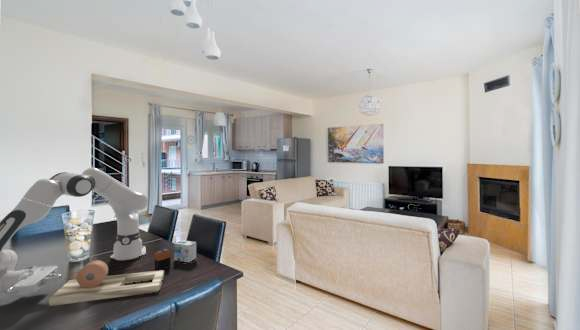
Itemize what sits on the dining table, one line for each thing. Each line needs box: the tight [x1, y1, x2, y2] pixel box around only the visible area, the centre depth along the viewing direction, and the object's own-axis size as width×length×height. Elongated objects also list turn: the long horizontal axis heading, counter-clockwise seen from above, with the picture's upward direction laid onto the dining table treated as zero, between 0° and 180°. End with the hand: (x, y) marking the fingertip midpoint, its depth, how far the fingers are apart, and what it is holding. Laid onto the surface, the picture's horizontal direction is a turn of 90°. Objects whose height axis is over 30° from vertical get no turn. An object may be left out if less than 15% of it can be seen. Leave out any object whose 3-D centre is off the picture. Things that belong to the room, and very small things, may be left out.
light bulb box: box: [173, 239, 197, 262], centre depth 156 cm, size 11×7×11 cm, turn 71°
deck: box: [48, 269, 165, 307], centre depth 122 cm, size 17×40×3 cm, turn 108°
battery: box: [154, 248, 171, 271], centre depth 145 cm, size 4×7×10 cm, turn 146°
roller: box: [76, 259, 109, 288], centre depth 119 cm, size 6×10×10 cm, turn 108°
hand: (60, 277), depth 116 cm, fingers closed
